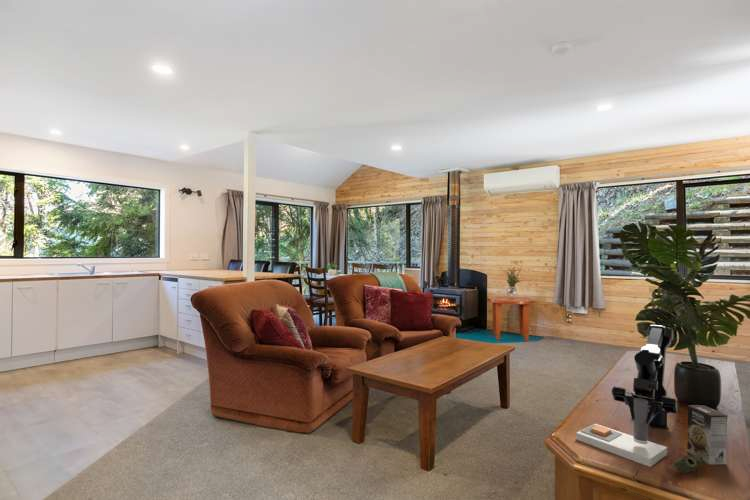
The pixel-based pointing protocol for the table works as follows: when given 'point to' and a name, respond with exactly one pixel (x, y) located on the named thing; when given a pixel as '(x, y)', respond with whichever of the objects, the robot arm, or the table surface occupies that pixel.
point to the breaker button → (601, 431)
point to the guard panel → (624, 446)
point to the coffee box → (707, 434)
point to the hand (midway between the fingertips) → (640, 421)
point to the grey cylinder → (640, 420)
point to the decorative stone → (687, 463)
